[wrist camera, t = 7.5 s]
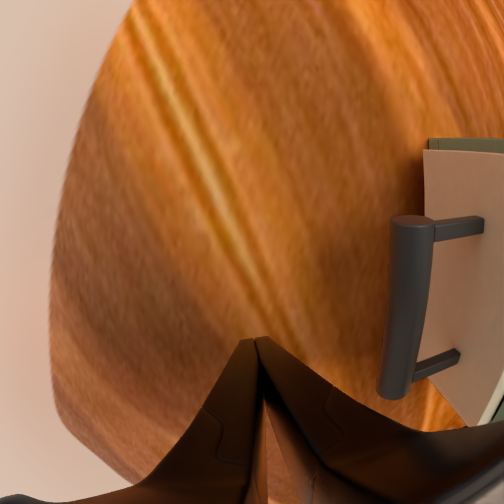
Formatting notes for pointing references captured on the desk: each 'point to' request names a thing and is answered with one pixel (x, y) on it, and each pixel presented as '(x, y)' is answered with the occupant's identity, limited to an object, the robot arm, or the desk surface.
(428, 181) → the drawer
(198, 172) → the desk surface
